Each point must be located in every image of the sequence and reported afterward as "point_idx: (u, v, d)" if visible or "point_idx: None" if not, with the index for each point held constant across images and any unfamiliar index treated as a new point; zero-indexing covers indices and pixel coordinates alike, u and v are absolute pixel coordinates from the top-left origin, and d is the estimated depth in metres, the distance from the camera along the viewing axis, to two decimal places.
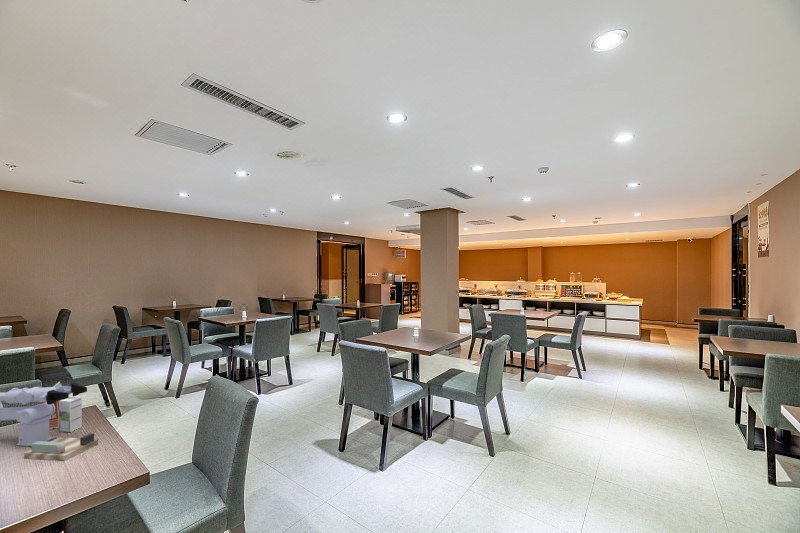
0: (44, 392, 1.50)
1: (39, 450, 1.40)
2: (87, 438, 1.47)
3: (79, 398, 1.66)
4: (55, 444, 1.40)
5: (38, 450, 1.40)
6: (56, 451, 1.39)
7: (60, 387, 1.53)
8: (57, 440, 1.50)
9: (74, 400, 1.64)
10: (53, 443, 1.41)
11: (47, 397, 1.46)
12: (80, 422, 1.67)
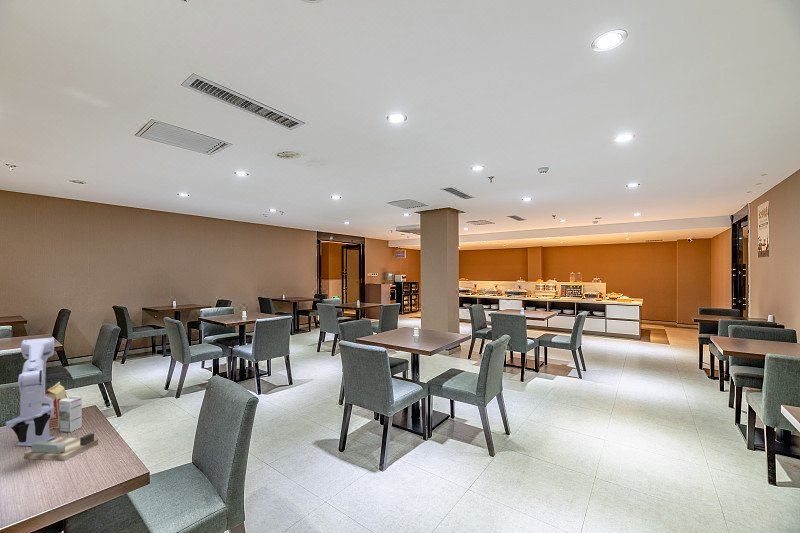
0: (27, 407, 1.34)
1: (39, 450, 1.40)
2: (87, 438, 1.47)
3: (79, 398, 1.66)
4: (55, 444, 1.40)
5: (38, 450, 1.40)
6: (56, 451, 1.39)
7: None
8: (57, 440, 1.50)
9: (74, 400, 1.64)
10: (53, 443, 1.41)
11: (16, 426, 1.31)
12: (80, 422, 1.67)
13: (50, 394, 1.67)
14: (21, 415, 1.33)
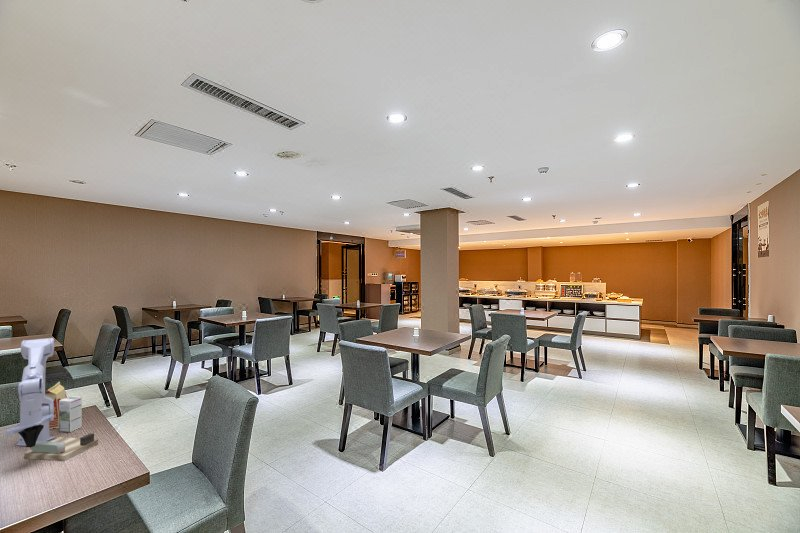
0: (27, 415, 1.34)
1: (39, 450, 1.40)
2: (87, 438, 1.47)
3: (79, 398, 1.66)
4: (55, 444, 1.40)
5: (38, 450, 1.40)
6: (56, 451, 1.39)
7: None
8: (57, 440, 1.50)
9: (74, 400, 1.64)
10: (53, 443, 1.41)
11: (23, 431, 1.33)
12: (80, 422, 1.67)
13: (50, 394, 1.67)
14: (21, 423, 1.33)
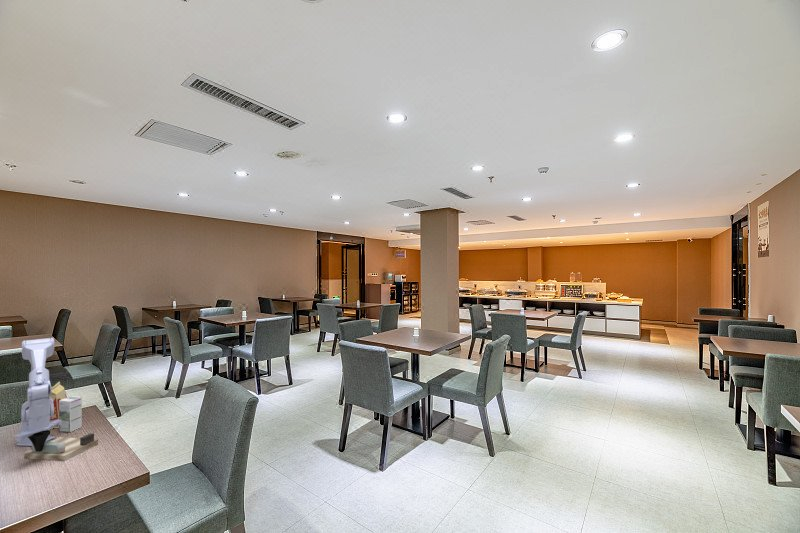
0: (35, 421, 1.36)
1: None
2: (87, 438, 1.47)
3: (79, 398, 1.66)
4: (55, 444, 1.40)
5: None
6: (56, 451, 1.39)
7: None
8: (57, 440, 1.50)
9: (74, 400, 1.64)
10: (53, 443, 1.41)
11: (32, 436, 1.36)
12: (80, 422, 1.67)
13: None
14: (29, 428, 1.36)
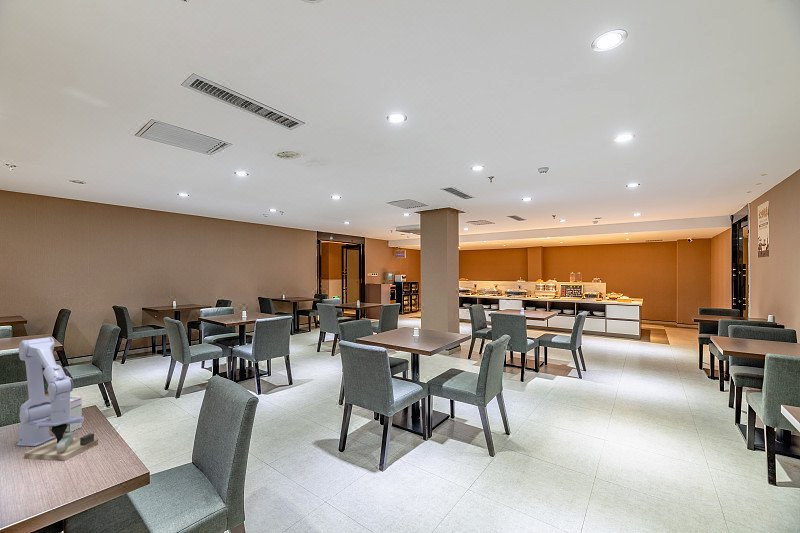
0: (50, 413, 1.43)
1: None
2: (87, 438, 1.47)
3: (79, 398, 1.66)
4: None
5: None
6: None
7: None
8: None
9: (74, 400, 1.64)
10: (63, 440, 1.43)
11: None
12: None
13: None
14: None
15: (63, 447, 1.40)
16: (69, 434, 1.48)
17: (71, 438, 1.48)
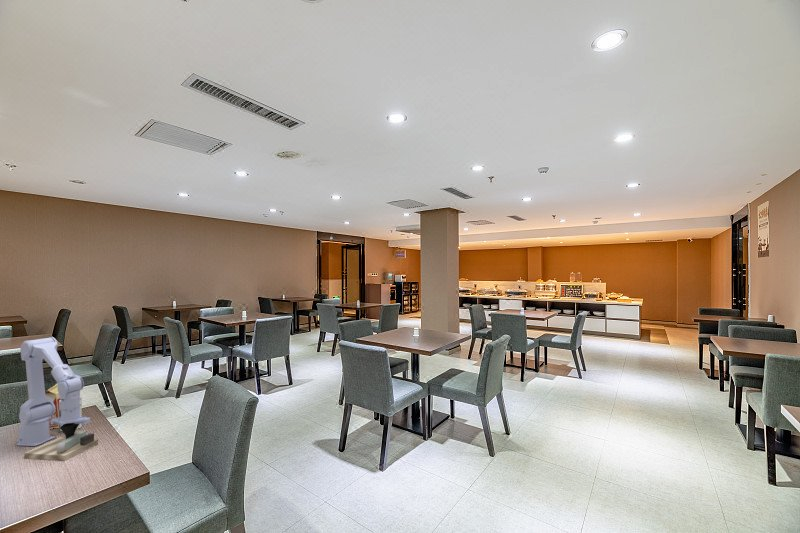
0: None
1: None
2: (87, 438, 1.47)
3: None
4: (63, 442, 1.42)
5: None
6: None
7: None
8: (57, 440, 1.50)
9: None
10: (67, 439, 1.43)
11: None
12: None
13: (50, 394, 1.67)
14: None
15: (62, 448, 1.39)
16: (80, 433, 1.49)
17: None
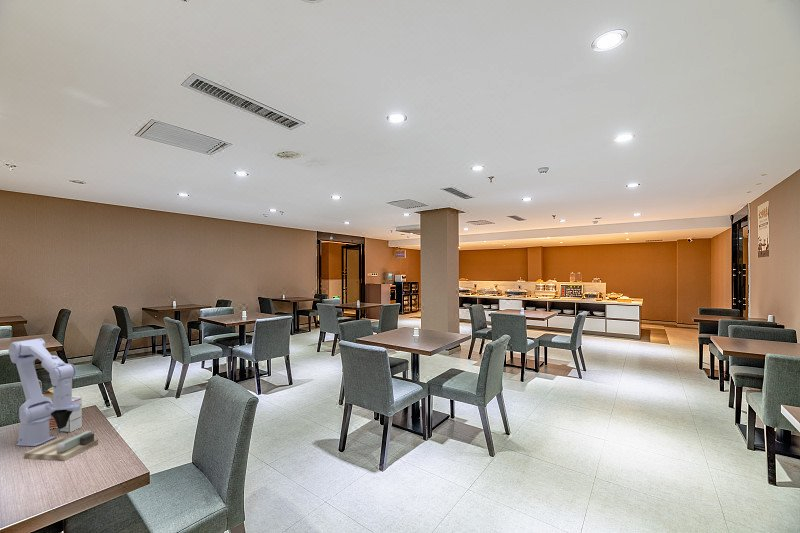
0: None
1: None
2: (87, 438, 1.47)
3: (79, 398, 1.66)
4: (64, 441, 1.42)
5: None
6: None
7: None
8: (57, 440, 1.50)
9: (74, 400, 1.64)
10: (69, 439, 1.43)
11: None
12: (80, 422, 1.67)
13: (50, 394, 1.67)
14: None
15: (61, 448, 1.39)
16: (84, 433, 1.49)
17: None
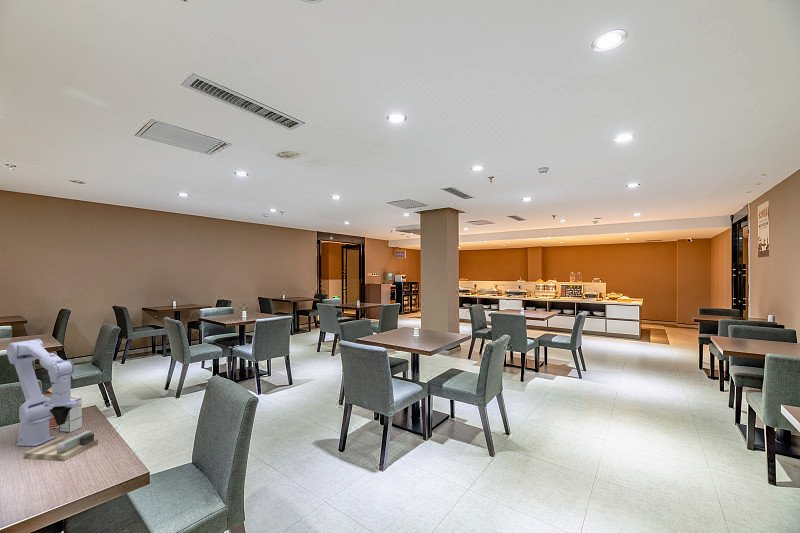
0: None
1: None
2: (87, 438, 1.47)
3: (79, 398, 1.66)
4: (64, 441, 1.42)
5: None
6: None
7: None
8: (57, 440, 1.50)
9: (74, 400, 1.64)
10: (69, 439, 1.43)
11: None
12: (80, 422, 1.67)
13: (50, 394, 1.67)
14: None
15: (61, 448, 1.39)
16: (84, 433, 1.49)
17: None
